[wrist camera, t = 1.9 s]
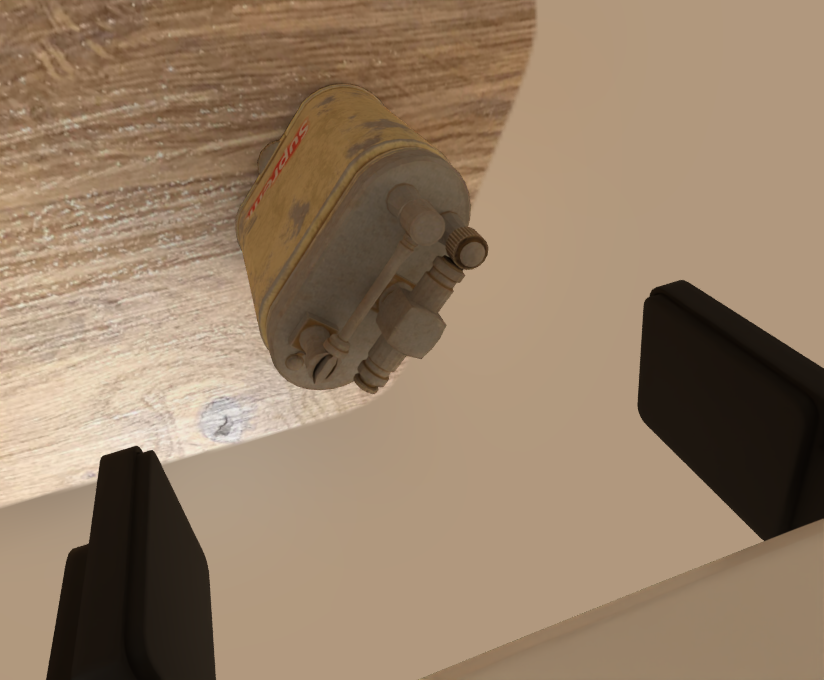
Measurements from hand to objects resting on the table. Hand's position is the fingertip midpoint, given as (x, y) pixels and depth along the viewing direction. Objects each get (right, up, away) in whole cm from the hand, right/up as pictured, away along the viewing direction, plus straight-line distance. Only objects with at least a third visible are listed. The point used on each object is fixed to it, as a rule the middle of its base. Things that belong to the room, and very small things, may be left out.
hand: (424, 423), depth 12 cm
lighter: (-4, +7, +11) cm, 13 cm away
